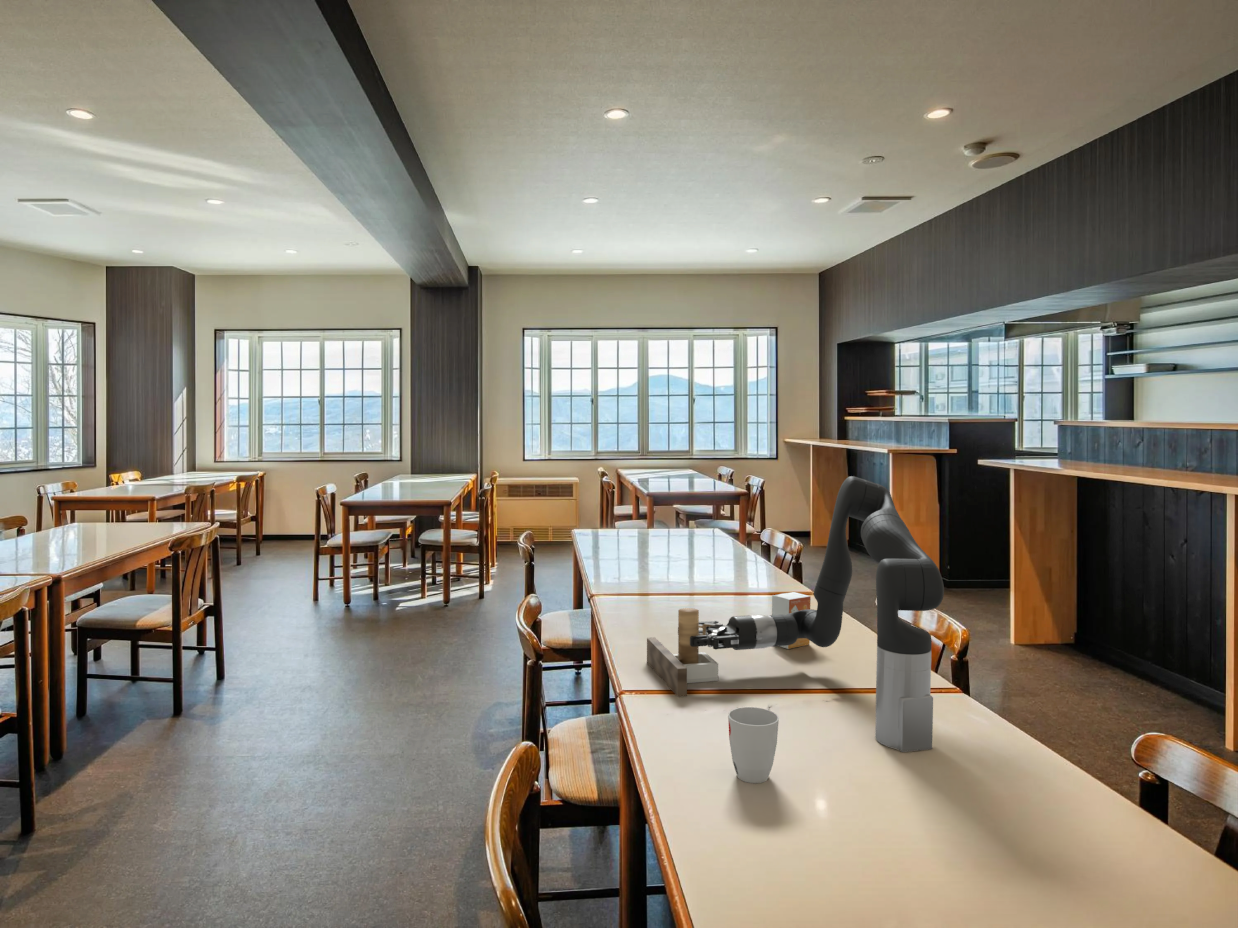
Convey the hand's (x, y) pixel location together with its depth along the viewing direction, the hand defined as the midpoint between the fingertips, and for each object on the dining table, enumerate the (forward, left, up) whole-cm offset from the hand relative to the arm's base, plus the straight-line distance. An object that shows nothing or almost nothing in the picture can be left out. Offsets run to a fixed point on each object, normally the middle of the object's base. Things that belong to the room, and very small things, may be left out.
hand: (684, 636), depth 172 cm
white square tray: (0, -2, -9) cm, 9 cm away
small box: (+22, -36, -10) cm, 44 cm away
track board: (0, -4, -10) cm, 11 cm away
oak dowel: (0, -1, -8) cm, 8 cm away
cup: (-47, +4, -10) cm, 48 cm away
